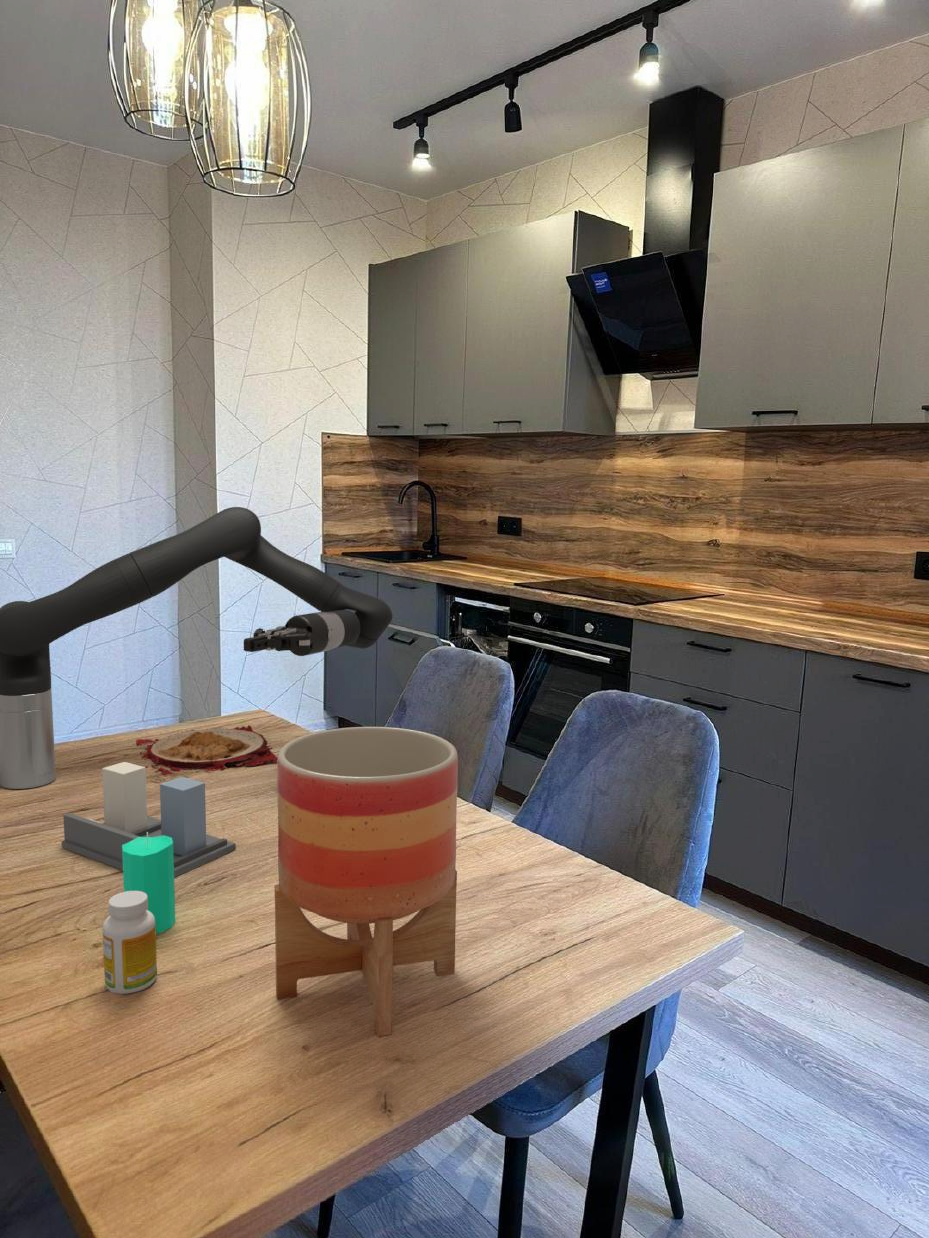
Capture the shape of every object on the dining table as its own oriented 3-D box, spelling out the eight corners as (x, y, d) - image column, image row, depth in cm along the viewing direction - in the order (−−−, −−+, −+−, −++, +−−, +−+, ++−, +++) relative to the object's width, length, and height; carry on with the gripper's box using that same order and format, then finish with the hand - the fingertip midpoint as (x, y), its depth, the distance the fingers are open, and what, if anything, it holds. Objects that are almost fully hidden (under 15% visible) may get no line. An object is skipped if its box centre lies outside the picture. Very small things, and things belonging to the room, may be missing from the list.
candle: (185, 916, 109) (183, 827, 107) (153, 939, 103) (150, 844, 101) (146, 908, 111) (143, 820, 109) (113, 930, 105) (110, 837, 103)
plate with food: (251, 734, 195) (250, 718, 194) (279, 764, 171) (279, 747, 171) (136, 747, 184) (135, 731, 184) (149, 781, 160) (149, 763, 160)
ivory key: (104, 830, 133) (102, 768, 131) (126, 822, 136) (124, 761, 135) (125, 837, 130) (123, 774, 129) (147, 828, 134) (145, 767, 132)
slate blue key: (161, 849, 126) (159, 784, 125) (183, 840, 130) (181, 776, 128) (185, 856, 124) (183, 790, 122) (206, 847, 127) (205, 783, 126)
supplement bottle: (165, 969, 97) (163, 888, 95) (143, 997, 91) (140, 911, 90) (120, 966, 97) (117, 885, 96) (95, 993, 92) (91, 908, 90)
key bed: (61, 847, 129) (60, 815, 128) (139, 818, 141) (138, 789, 140) (159, 883, 118) (158, 849, 117) (235, 849, 130) (235, 818, 129)
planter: (479, 1021, 88) (485, 771, 85) (283, 1053, 83) (281, 786, 79) (431, 928, 107) (435, 720, 103) (269, 948, 102) (267, 729, 98)
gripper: (288, 610, 162) (218, 620, 148) (342, 616, 156) (275, 627, 141) (288, 648, 163) (219, 662, 149) (342, 656, 157) (275, 672, 142)
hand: (246, 645), depth 145 cm, fingers closed
